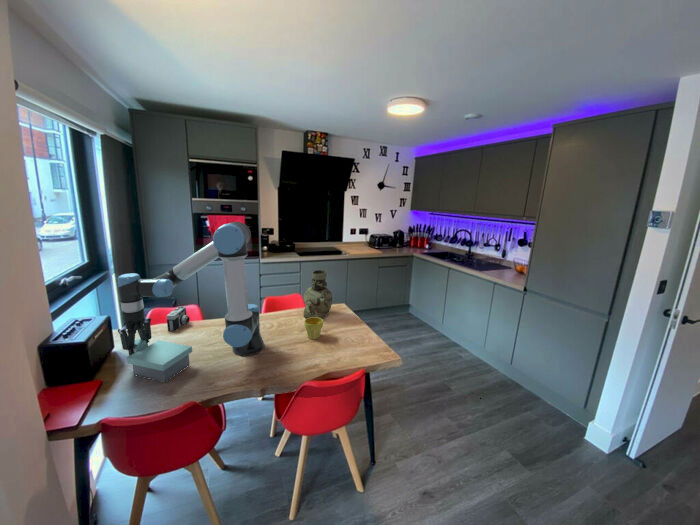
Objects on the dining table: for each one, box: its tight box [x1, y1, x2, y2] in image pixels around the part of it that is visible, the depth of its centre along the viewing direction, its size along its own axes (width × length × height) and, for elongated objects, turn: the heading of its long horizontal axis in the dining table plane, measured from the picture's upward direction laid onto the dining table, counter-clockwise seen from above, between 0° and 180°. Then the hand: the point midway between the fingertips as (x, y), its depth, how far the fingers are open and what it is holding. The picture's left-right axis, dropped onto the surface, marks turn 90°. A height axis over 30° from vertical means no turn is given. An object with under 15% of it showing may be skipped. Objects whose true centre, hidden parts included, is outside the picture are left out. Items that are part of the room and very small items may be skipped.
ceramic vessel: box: [302, 269, 333, 320], centre depth 185 cm, size 19×21×30 cm
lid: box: [126, 338, 193, 371], centre depth 124 cm, size 23×15×6 cm, turn 76°
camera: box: [166, 305, 191, 332], centre depth 166 cm, size 14×8×10 cm, turn 5°
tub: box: [131, 354, 191, 383], centre depth 124 cm, size 16×13×7 cm
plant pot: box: [303, 317, 324, 340], centre depth 160 cm, size 10×10×10 cm
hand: (139, 358), depth 127 cm, fingers closed on lid, 4 cm apart
